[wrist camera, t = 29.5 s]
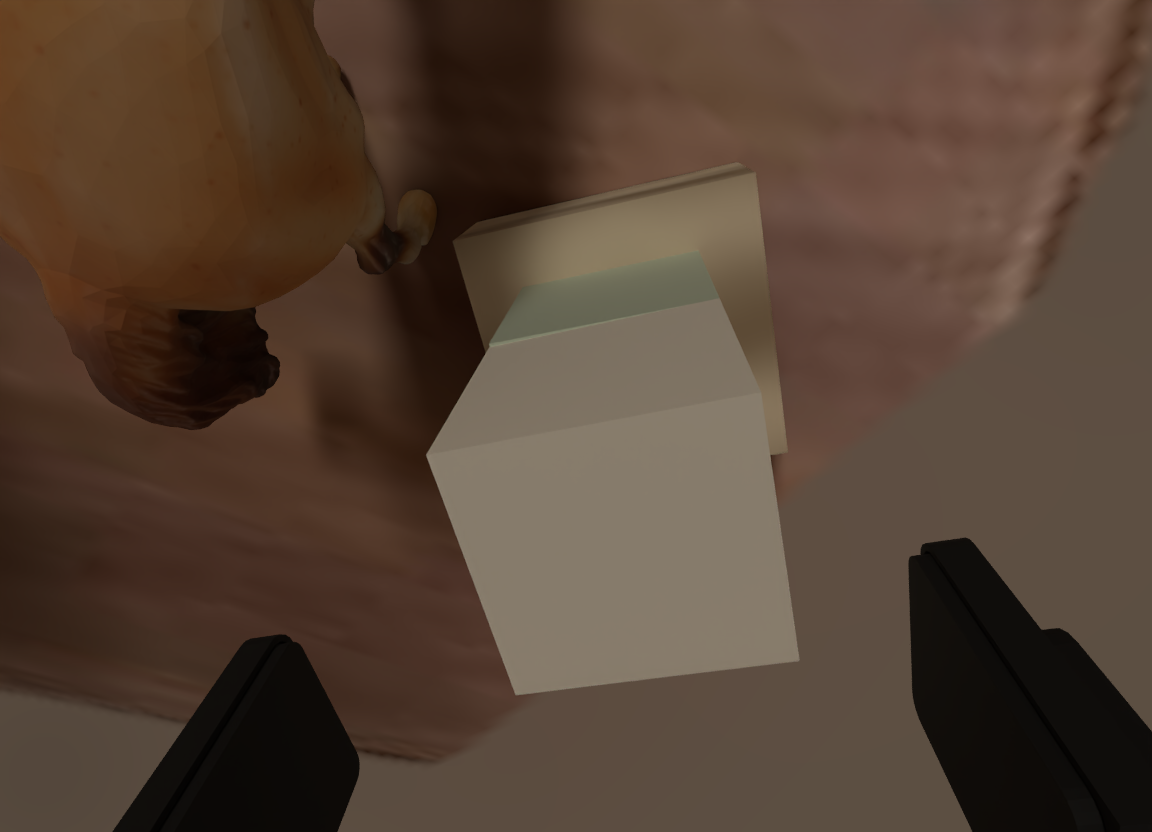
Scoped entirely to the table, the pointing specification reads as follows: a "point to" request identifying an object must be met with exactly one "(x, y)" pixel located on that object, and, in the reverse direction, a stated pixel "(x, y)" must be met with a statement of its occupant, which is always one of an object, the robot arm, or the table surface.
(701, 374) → the cream block
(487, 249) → the base brick
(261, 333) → the horse figurine
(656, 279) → the green block
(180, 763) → the robot arm
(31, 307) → the table surface
